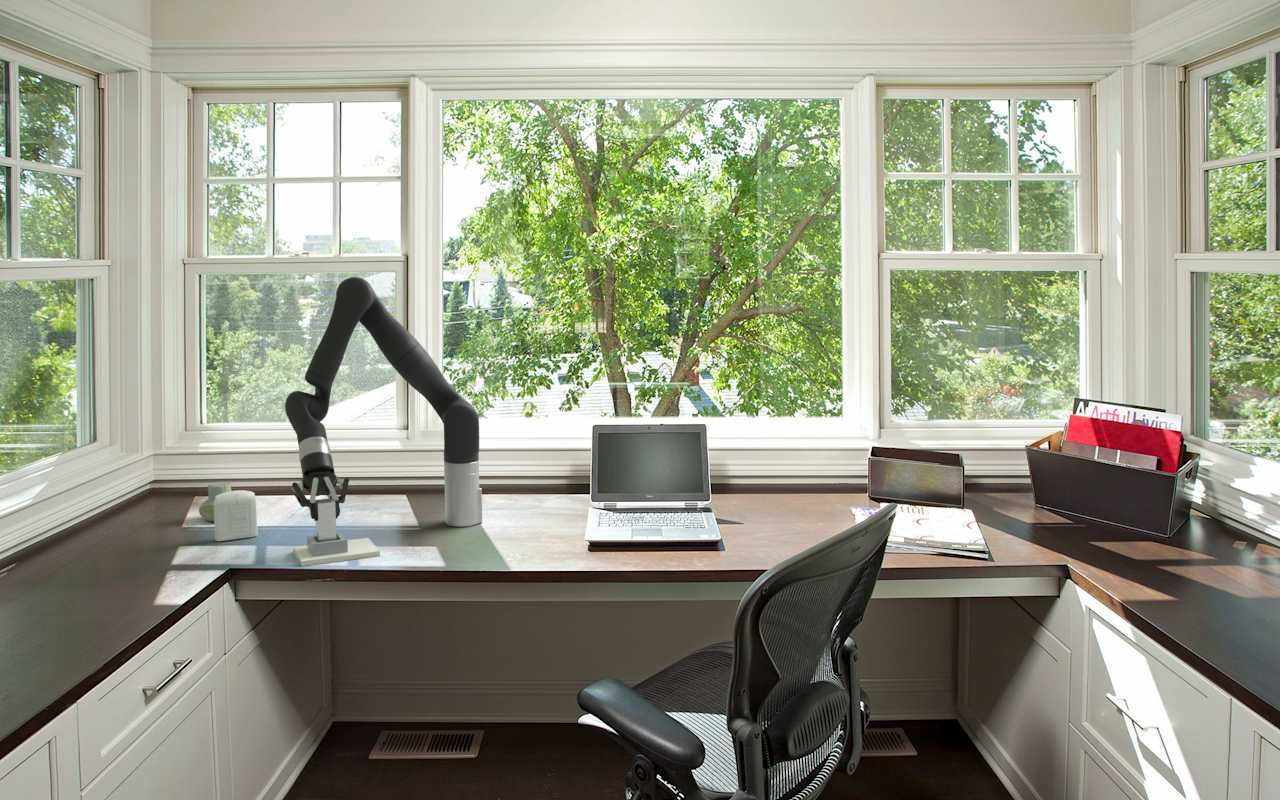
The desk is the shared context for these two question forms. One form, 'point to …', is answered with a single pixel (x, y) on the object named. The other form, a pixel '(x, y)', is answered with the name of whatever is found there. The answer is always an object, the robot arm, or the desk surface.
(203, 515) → the air freshener
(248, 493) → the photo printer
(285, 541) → the desk surface
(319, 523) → the grainy grey brick
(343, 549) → the docking board
